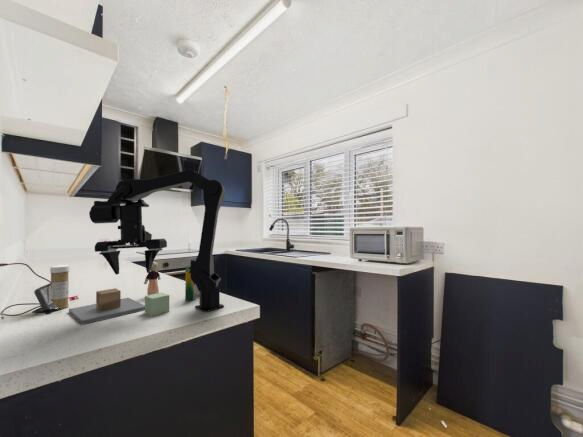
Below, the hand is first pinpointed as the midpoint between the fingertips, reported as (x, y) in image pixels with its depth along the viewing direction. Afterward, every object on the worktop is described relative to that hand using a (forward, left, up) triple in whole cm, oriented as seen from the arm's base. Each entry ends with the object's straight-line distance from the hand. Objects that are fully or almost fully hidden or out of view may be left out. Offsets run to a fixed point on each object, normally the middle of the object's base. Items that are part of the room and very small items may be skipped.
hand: (132, 273), depth 81 cm
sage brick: (-7, -4, -12) cm, 14 cm away
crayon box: (-1, -19, -12) cm, 23 cm away
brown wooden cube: (+6, +5, -10) cm, 13 cm away
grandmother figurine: (+13, -11, -12) cm, 21 cm away
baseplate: (+6, +5, -11) cm, 14 cm away
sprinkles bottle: (+22, +14, -12) cm, 29 cm away
